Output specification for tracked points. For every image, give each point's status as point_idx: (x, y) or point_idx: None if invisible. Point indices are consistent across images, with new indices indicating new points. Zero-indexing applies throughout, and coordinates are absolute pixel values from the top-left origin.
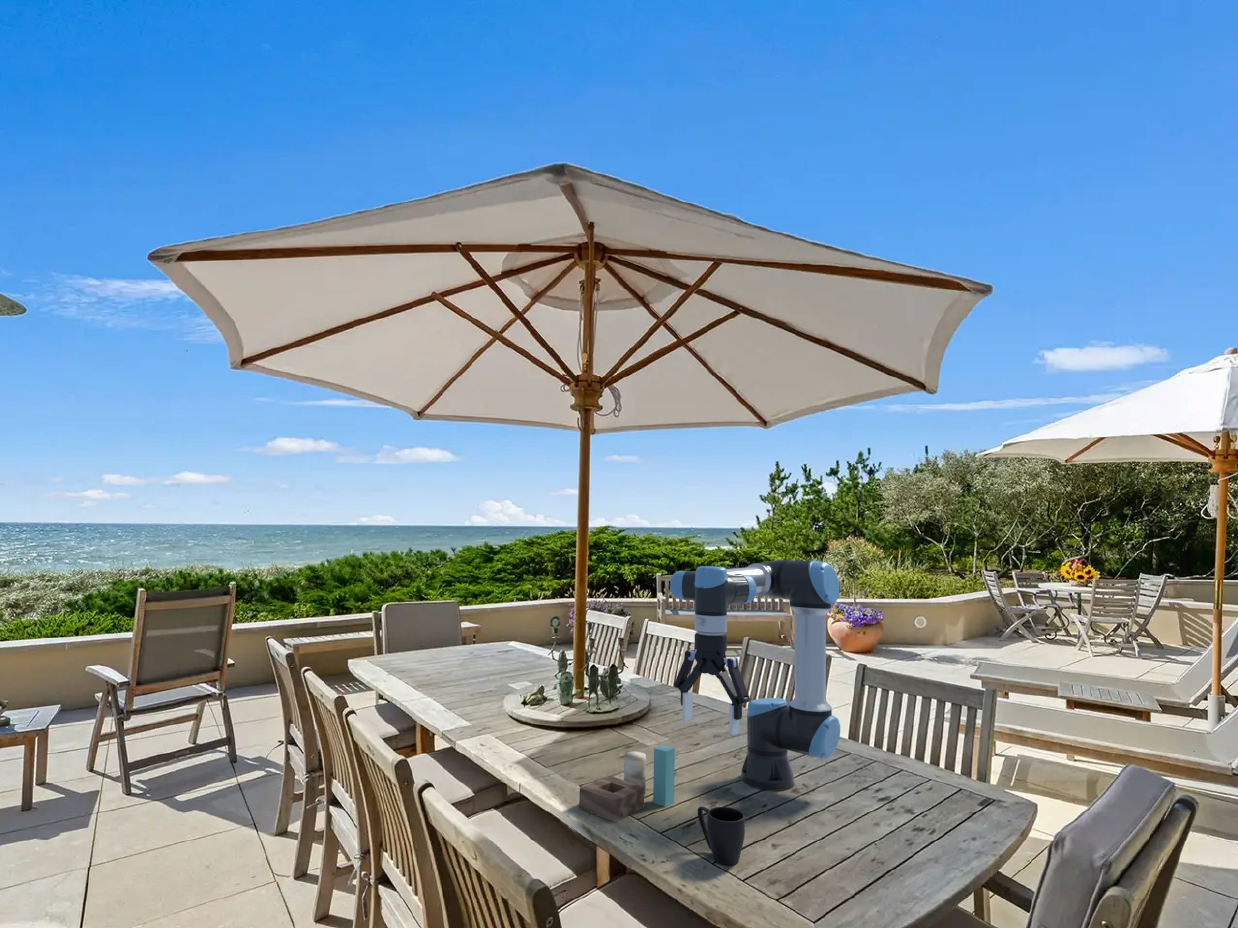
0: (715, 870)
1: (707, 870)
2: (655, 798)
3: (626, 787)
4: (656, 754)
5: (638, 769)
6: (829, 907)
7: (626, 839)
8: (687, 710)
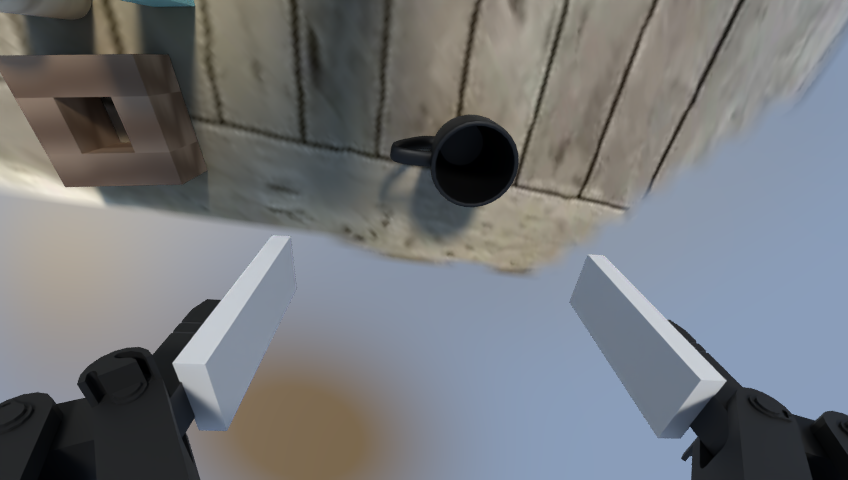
0: None
1: None
2: (150, 4)
3: (112, 96)
4: None
5: None
6: (656, 161)
7: (285, 208)
8: (273, 307)
